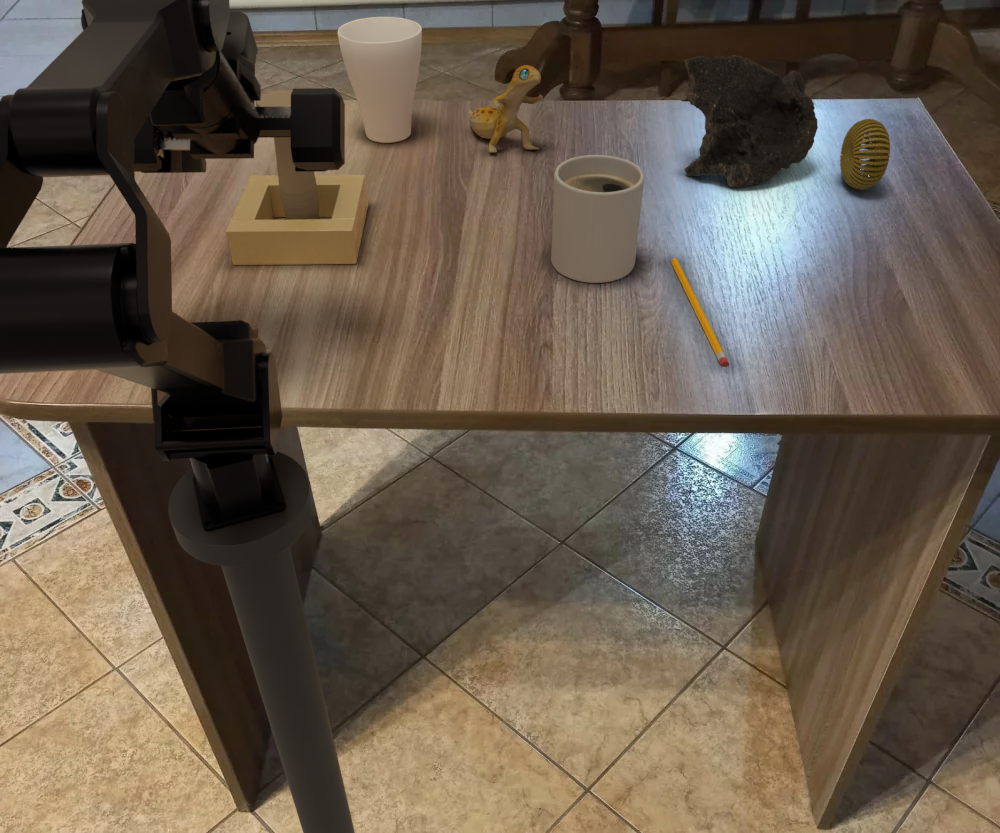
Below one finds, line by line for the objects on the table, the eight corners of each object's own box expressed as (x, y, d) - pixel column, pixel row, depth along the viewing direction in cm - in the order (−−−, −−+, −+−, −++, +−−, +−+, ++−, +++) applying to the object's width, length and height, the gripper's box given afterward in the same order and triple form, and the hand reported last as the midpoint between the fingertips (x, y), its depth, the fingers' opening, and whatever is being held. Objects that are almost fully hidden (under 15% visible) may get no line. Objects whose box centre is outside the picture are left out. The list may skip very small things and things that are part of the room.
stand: (356, 264, 95) (352, 230, 93) (232, 265, 95) (225, 231, 92) (368, 206, 105) (364, 174, 102) (256, 207, 105) (250, 175, 102)
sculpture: (882, 201, 106) (902, 135, 101) (848, 201, 106) (866, 135, 101) (862, 171, 112) (880, 108, 107) (830, 171, 112) (846, 108, 107)
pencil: (720, 368, 82) (721, 361, 81) (670, 264, 95) (670, 258, 95) (729, 367, 82) (730, 361, 81) (677, 263, 96) (678, 257, 95)
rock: (783, 190, 120) (797, 69, 116) (819, 191, 107) (836, 56, 104) (658, 185, 119) (667, 63, 115) (680, 185, 107) (691, 49, 103)
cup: (443, 130, 122) (439, 26, 113) (392, 157, 115) (383, 48, 106) (385, 112, 126) (376, 11, 118) (332, 137, 120) (319, 32, 111)
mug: (624, 289, 91) (634, 199, 85) (534, 274, 94) (537, 184, 87) (646, 239, 99) (656, 152, 93) (562, 226, 101) (566, 140, 95)
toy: (524, 149, 109) (518, 62, 107) (448, 156, 121) (441, 77, 118) (562, 147, 113) (558, 62, 111) (486, 154, 125) (480, 77, 122)
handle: (306, 253, 97) (285, 117, 87) (270, 233, 100) (245, 100, 90) (341, 237, 100) (324, 103, 90) (304, 218, 103) (284, 87, 93)
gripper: (327, -15, 67) (357, 80, 83) (75, -14, 67) (153, 81, 83) (326, 130, 66) (357, 198, 82) (71, 132, 66) (151, 200, 82)
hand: (255, 166), depth 82 cm, fingers open, 9 cm apart
